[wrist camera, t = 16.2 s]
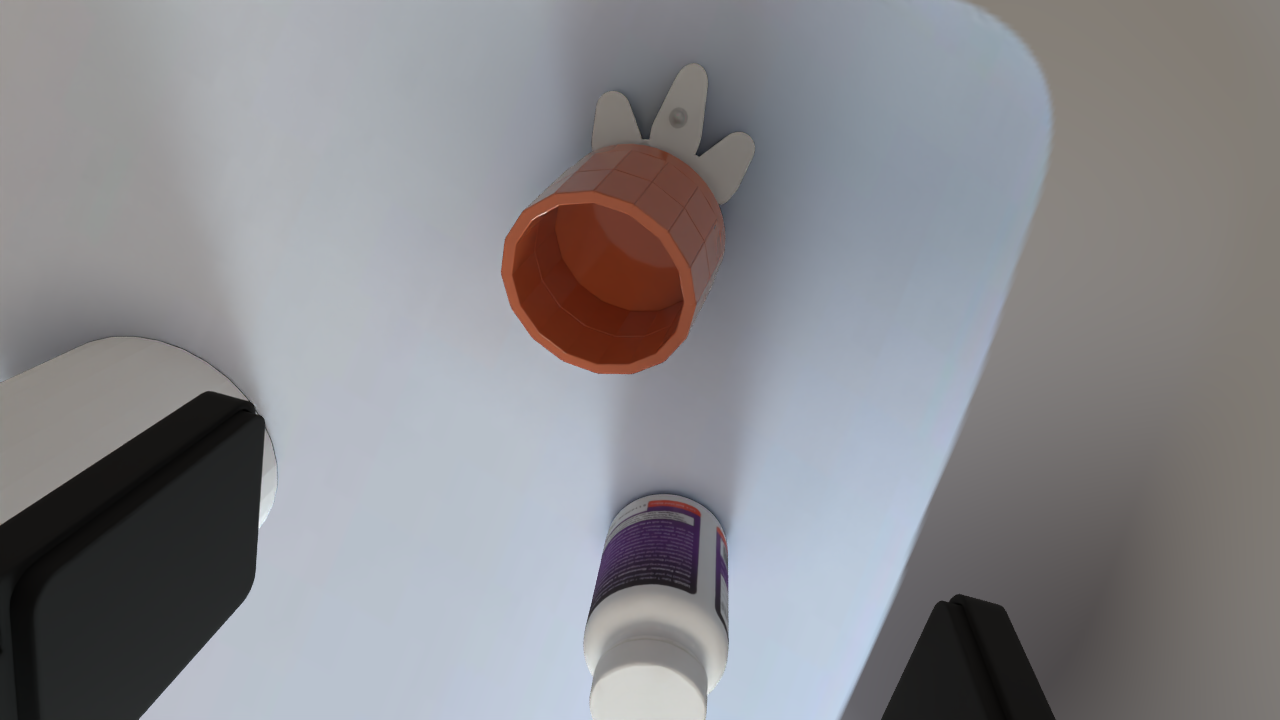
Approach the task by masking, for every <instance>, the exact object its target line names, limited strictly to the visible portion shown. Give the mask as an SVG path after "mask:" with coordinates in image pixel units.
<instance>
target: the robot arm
mask: <svg viewBox="0 0 1280 720" xmlns="http://www.w3.org/2000/svg"><path fill="white" fill-rule="evenodd" d="M264 437H265V421H264V418H263V417H262V416H261V415H257V414H256V412H255V408H254V405H253V404H252V403H251V402H250V401H246V400H243V399H239V398H235V397H232V396H228V395H224V394H221V393H217V392H213V391H206V392H204V393H201V394H200V395H198V396H197V397H195V398H194V399H192V400H191V401H189V402H188V403H186V404H185V405H183V406H182V407H180V408H178V409H177V410H175V411H174V412H172V413H171V414H169V415H168V416H166V417H165V418H163V419H162V420H160V421H159V422H157V423H156V424H154V425H153V426H151V427H149V428H148V429H146V430H145V431H143V432H142V433H140V434H139V435H137V436H136V437H134V438H133V439H131V440H130V441H128V442H127V443H125V444H123V445H122V446H120V447H119V448H117V449H116V450H114V451H113V452H111V453H110V454H108V455H107V456H105V457H104V458H102V459H101V460H99V461H98V462H96V463H94V464H93V465H91V466H90V467H88V468H87V469H85V470H84V471H82V472H81V473H79V474H78V475H76V476H75V477H73V478H72V479H70V480H69V481H67V482H65V483H64V484H62V485H61V486H59V487H58V488H56V489H55V490H53V491H52V492H50V493H49V494H47V495H46V496H44V497H43V498H41V499H40V500H38V501H36V502H35V503H33V504H32V505H30V506H29V507H27V508H26V509H24V510H23V511H21V512H20V513H18V514H17V515H15V516H14V517H12V518H10V519H9V520H7V521H6V522H4V523H3V524H1V525H0V720H139V718H140V717H141V716H142V715H143V714H144V713H145V712H146V711H147V709H148V708H149V707H150V706H151V705H152V704H153V703H154V702H155V700H156V699H157V698H158V697H159V696H160V695H161V694H162V693H163V691H164V690H165V689H166V688H167V687H168V686H169V685H170V684H171V682H172V681H173V680H174V679H175V678H176V677H177V676H178V675H179V673H180V672H181V671H182V670H183V669H184V668H185V667H186V666H187V664H188V663H189V662H190V661H191V660H192V659H193V658H194V657H195V655H196V654H197V653H198V652H199V651H200V650H201V649H202V648H203V646H204V645H205V644H206V643H207V642H208V641H209V640H210V639H211V637H212V636H213V635H214V634H215V633H216V632H217V631H218V630H219V628H220V627H221V626H222V625H223V624H224V623H225V622H226V621H227V619H228V618H229V617H230V616H231V615H232V614H233V613H234V612H235V610H236V609H237V608H238V607H239V606H240V605H241V604H242V602H243V601H244V600H245V598H246V597H247V595H248V594H249V592H250V590H251V587H252V585H253V582H254V578H255V572H256V557H257V542H258V527H259V512H260V497H261V482H262V467H263V452H264ZM881 720H1055V717H1054V715H1053V713H1052V711H1051V708H1050V707H1049V704H1048V702H1047V700H1046V698H1045V695H1044V693H1043V691H1042V689H1041V687H1040V685H1039V682H1038V680H1037V678H1036V676H1035V674H1034V671H1033V669H1032V667H1031V665H1030V663H1029V661H1028V658H1027V656H1026V654H1025V652H1024V650H1023V647H1022V645H1021V643H1020V641H1019V639H1018V636H1017V634H1016V632H1015V630H1014V628H1013V625H1012V623H1011V621H1010V619H1009V617H1008V615H1007V612H1006V611H1005V609H1004V608H1003V607H1002V606H1000V605H998V604H994V603H990V602H987V601H983V600H980V599H976V598H972V597H969V596H964V595H961V594H958V595H955V596H954V597H953V598H951V600H950V601H949V602H945V601H939V602H938V603H937V604H936V605H935V607H934V609H933V610H932V613H931V615H930V617H929V619H928V621H927V623H926V625H925V627H924V630H923V632H922V634H921V636H920V638H919V640H918V642H917V644H916V647H915V649H914V651H913V653H912V655H911V657H910V659H909V662H908V664H907V666H906V668H905V670H904V672H903V674H902V676H901V678H900V681H899V683H898V685H897V687H896V689H895V691H894V693H893V695H892V697H891V700H890V702H889V704H888V706H887V708H886V710H885V712H884V714H883V717H882V719H881Z"/></svg>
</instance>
